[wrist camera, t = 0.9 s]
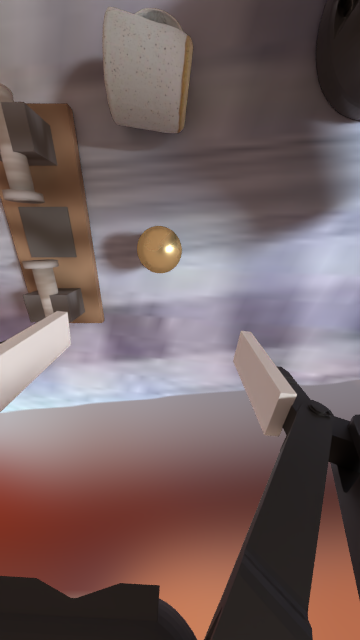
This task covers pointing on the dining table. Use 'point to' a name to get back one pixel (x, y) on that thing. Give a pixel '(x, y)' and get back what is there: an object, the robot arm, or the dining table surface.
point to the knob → (159, 249)
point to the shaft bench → (48, 209)
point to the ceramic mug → (146, 69)
